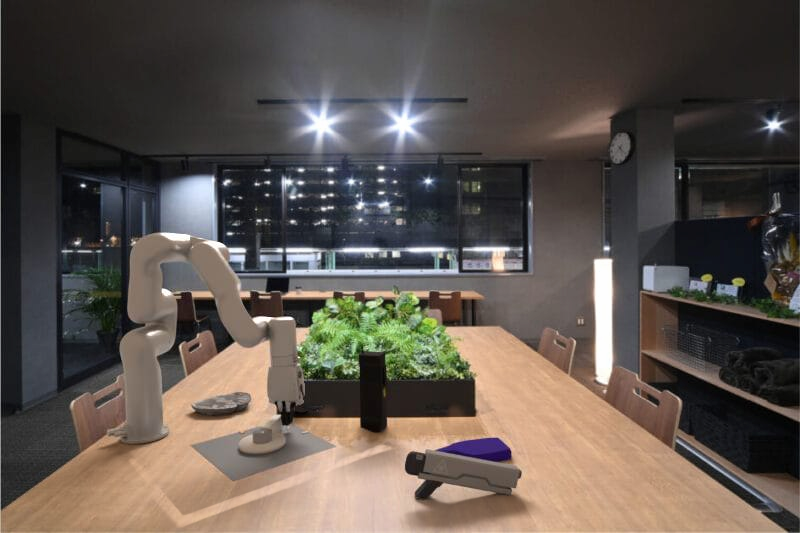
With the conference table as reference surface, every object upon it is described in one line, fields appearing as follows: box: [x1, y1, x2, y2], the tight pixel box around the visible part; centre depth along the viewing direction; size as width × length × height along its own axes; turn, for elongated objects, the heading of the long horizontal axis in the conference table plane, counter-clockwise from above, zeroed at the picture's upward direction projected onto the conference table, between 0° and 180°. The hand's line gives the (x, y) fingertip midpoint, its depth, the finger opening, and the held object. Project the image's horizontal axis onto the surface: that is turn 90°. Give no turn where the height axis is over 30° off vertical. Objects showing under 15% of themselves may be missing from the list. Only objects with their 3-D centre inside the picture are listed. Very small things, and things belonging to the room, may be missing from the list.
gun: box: [404, 448, 523, 500], centre depth 105 cm, size 2×25×10 cm, turn 93°
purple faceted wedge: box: [434, 437, 513, 463], centre depth 124 cm, size 3×11×24 cm
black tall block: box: [358, 344, 389, 433], centre depth 145 cm, size 8×6×25 cm
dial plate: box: [190, 422, 337, 482], centre depth 130 cm, size 28×28×2 cm
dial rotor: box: [239, 414, 286, 454], centre depth 133 cm, size 18×12×4 cm, turn 174°
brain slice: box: [190, 391, 252, 416], centre depth 166 cm, size 20×17×3 cm
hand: (287, 423), depth 140 cm, fingers closed
